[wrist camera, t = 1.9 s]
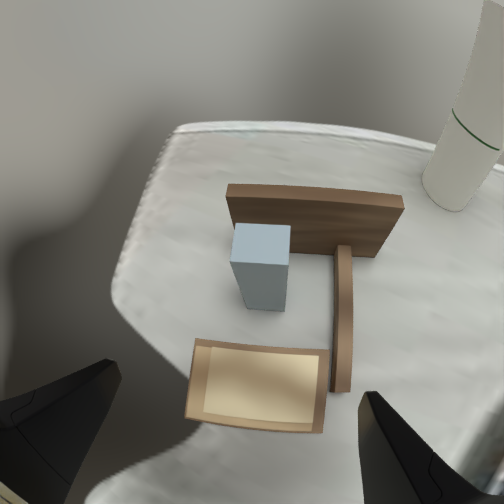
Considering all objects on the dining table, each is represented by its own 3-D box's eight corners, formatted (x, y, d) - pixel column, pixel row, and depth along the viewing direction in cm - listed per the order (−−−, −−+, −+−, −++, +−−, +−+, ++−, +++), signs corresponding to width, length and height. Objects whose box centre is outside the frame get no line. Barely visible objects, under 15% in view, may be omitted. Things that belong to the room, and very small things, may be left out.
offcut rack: (372, 429, 17) (415, 445, 10) (187, 417, 19) (145, 428, 12) (373, 246, 25) (401, 195, 18) (216, 237, 27) (195, 183, 20)
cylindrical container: (474, 205, 26) (558, 51, 4) (442, 217, 26) (537, 29, 4) (445, 165, 30) (504, 12, 8) (411, 172, 29) (470, -10, 7)
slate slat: (284, 311, 23) (288, 265, 15) (247, 308, 24) (229, 261, 15) (286, 284, 24) (290, 225, 16) (250, 281, 25) (235, 223, 16)
